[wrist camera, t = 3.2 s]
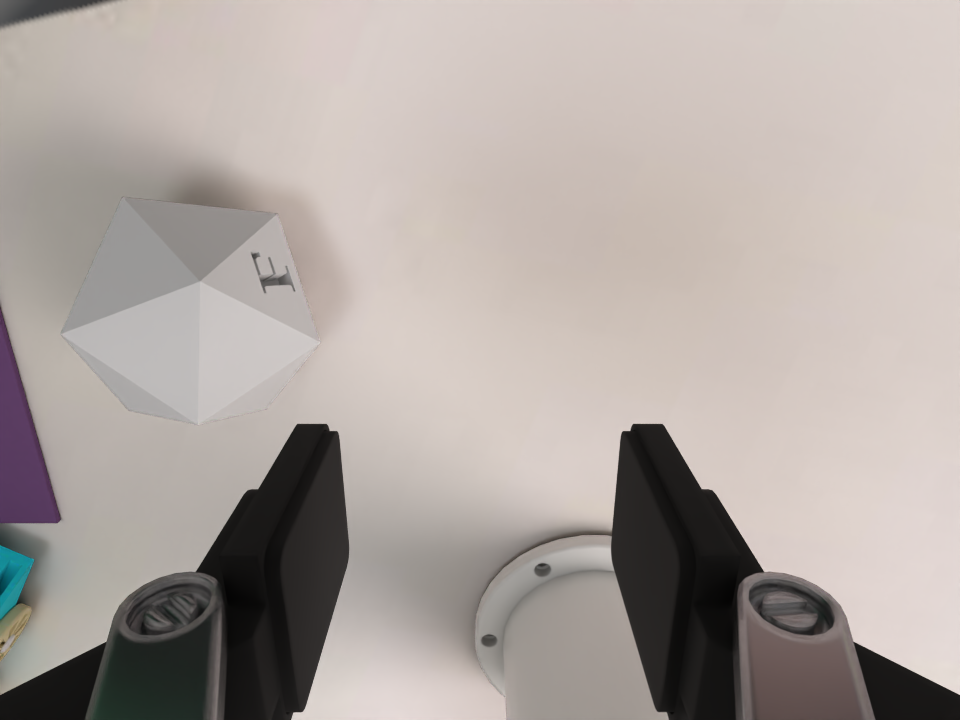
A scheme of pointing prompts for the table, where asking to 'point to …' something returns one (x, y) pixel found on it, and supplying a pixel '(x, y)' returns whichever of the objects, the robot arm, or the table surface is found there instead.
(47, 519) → the cloth
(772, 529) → the table surface
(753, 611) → the robot arm
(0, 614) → the toy train
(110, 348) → the die
